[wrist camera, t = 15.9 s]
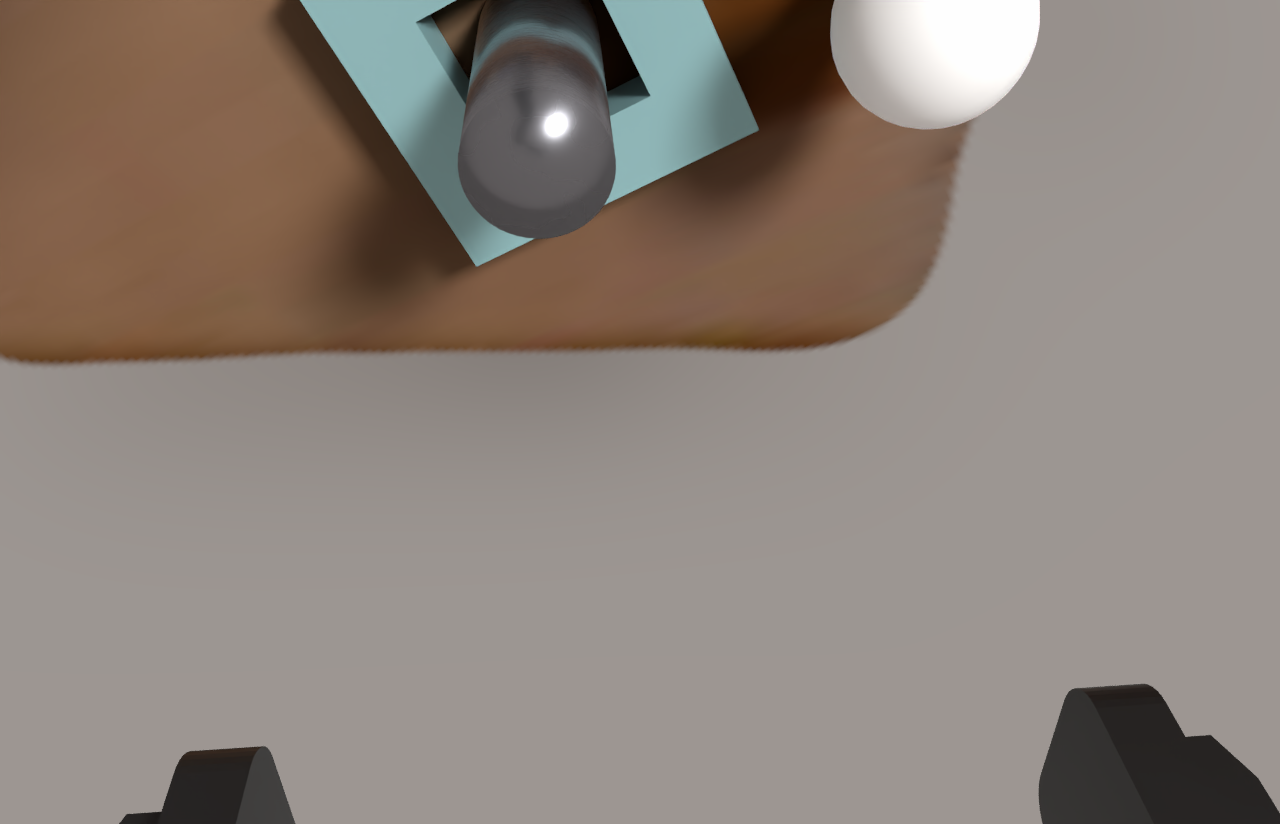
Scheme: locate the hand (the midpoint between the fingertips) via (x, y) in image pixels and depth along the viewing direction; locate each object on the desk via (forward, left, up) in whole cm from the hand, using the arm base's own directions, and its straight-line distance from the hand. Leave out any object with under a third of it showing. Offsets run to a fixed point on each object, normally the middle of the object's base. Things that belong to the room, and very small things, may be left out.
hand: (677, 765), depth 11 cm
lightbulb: (+5, +9, -34) cm, 36 cm away
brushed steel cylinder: (+2, -3, -34) cm, 34 cm away
